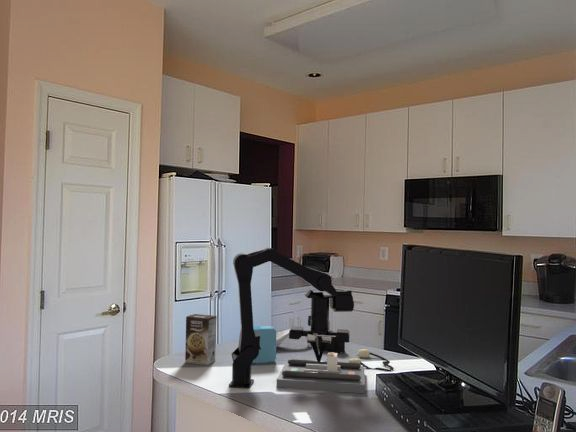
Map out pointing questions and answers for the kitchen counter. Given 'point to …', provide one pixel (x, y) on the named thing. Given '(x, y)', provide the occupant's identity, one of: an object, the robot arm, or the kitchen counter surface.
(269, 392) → the kitchen counter surface
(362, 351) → the cable
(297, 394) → the kitchen counter surface
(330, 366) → the knob
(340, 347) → the digital camera
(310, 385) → the panel
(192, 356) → the coffee box
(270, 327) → the data package
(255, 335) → the robot arm
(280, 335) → the spoon rest
